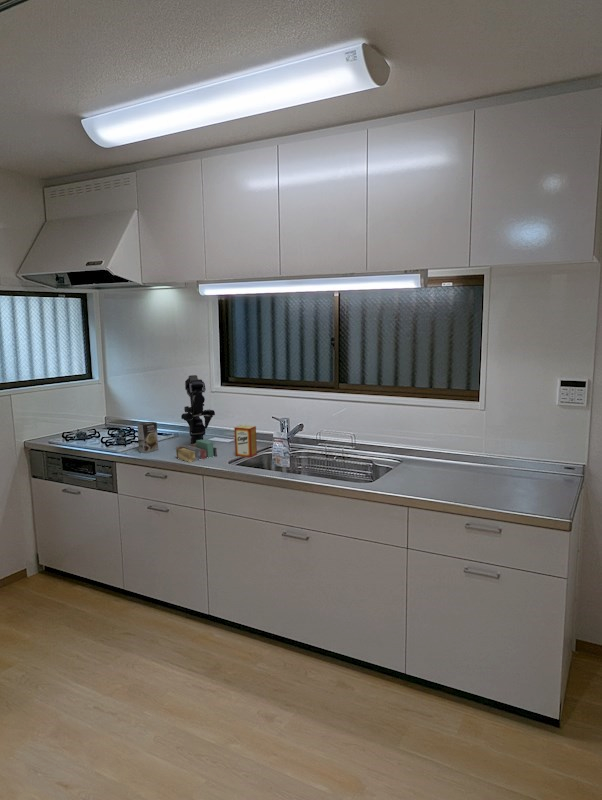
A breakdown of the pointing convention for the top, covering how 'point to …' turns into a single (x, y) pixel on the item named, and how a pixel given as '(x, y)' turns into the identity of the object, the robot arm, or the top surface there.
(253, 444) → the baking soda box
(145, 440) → the coffee box
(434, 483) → the top surface
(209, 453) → the green book
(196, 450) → the book rack
